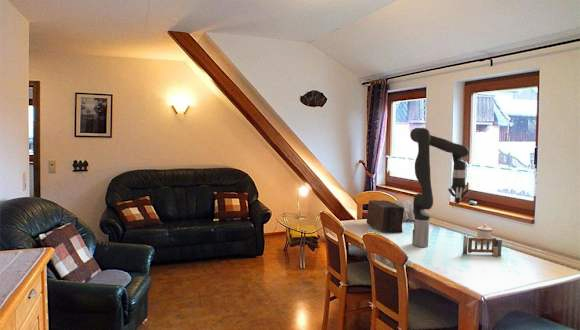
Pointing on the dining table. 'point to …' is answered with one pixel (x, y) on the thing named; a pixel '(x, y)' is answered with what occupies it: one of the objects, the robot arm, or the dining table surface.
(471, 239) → the walnut gate
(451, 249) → the dining table surface
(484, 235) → the teacup with lid
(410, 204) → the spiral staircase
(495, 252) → the post
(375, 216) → the decorative box
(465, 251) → the hinge post
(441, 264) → the dining table surface
